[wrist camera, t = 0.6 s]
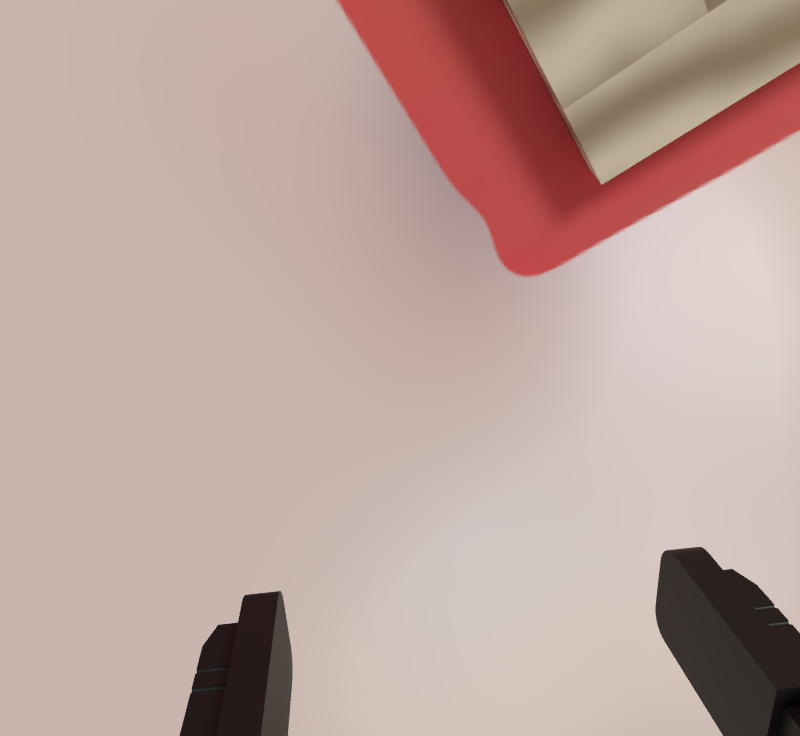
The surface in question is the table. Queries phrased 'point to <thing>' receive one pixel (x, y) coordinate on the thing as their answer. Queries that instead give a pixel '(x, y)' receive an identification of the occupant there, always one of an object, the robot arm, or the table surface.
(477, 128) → the table surface
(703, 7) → the board
